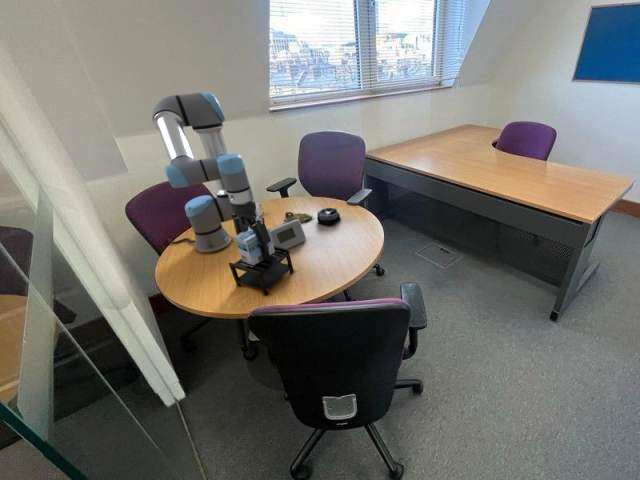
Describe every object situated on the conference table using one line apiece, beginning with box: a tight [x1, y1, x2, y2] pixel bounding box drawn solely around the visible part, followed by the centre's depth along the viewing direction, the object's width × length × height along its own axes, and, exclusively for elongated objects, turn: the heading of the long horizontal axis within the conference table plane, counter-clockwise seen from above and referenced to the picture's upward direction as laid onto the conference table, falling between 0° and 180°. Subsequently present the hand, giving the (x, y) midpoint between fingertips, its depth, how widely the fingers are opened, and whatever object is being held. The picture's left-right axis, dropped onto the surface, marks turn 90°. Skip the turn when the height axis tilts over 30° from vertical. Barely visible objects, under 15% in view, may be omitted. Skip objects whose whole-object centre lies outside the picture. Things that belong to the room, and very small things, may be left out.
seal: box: [284, 211, 313, 224], centre depth 166 cm, size 9×5×15 cm
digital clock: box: [269, 219, 307, 252], centre depth 142 cm, size 16×9×11 cm, turn 123°
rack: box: [228, 246, 295, 297], centre depth 121 cm, size 15×16×11 cm
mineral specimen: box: [255, 202, 264, 218], centre depth 170 cm, size 13×7×6 cm, turn 175°
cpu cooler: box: [316, 207, 341, 227], centre depth 162 cm, size 10×6×10 cm
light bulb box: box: [234, 227, 275, 265], centre depth 115 cm, size 11×7×11 cm, turn 149°
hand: (259, 255), depth 118 cm, fingers closed on light bulb box, 7 cm apart
